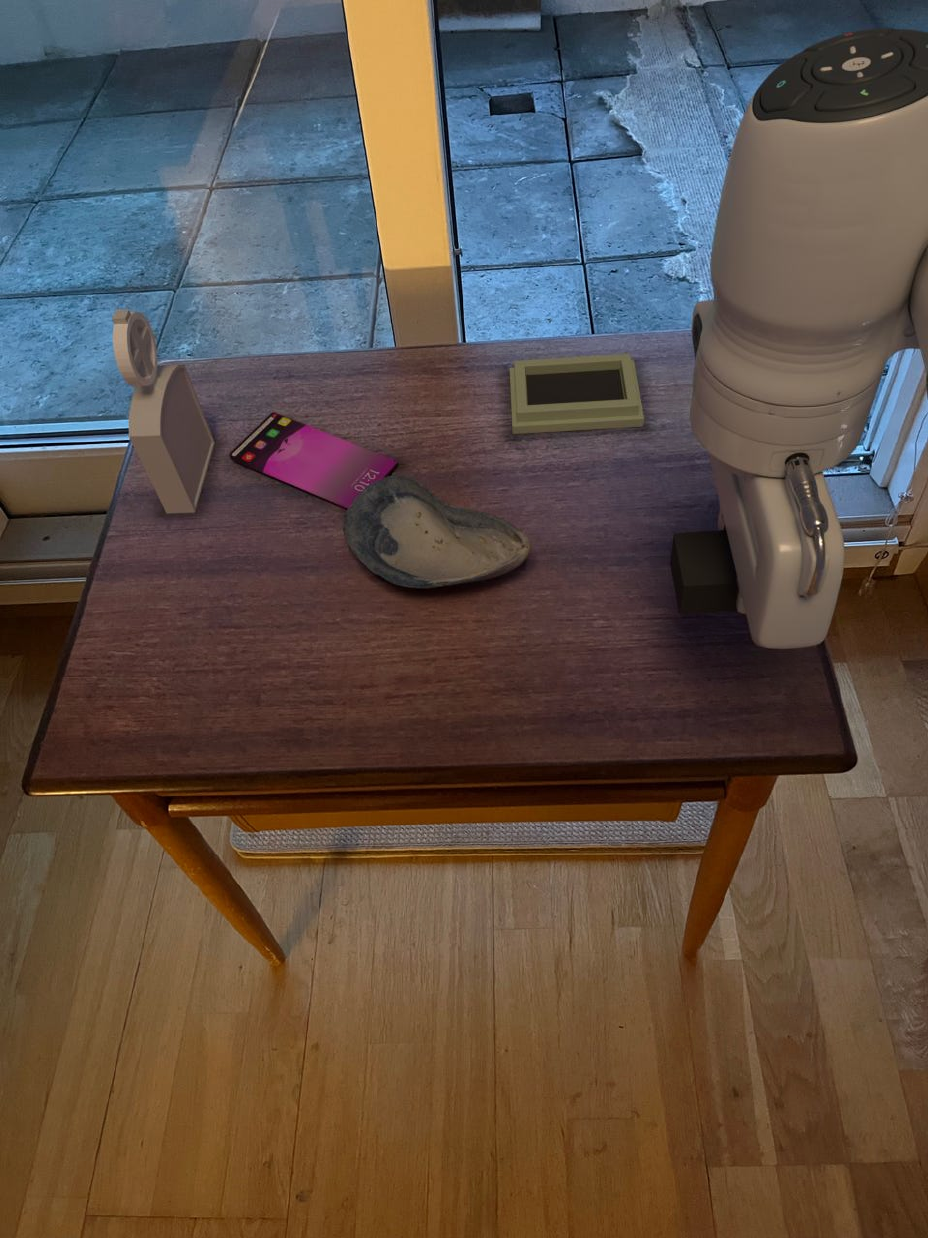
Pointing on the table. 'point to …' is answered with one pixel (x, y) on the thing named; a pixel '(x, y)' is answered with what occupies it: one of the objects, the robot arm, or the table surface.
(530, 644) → the table surface
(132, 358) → the gravestone
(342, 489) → the smartphone
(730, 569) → the black pad
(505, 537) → the seashell
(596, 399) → the pad
